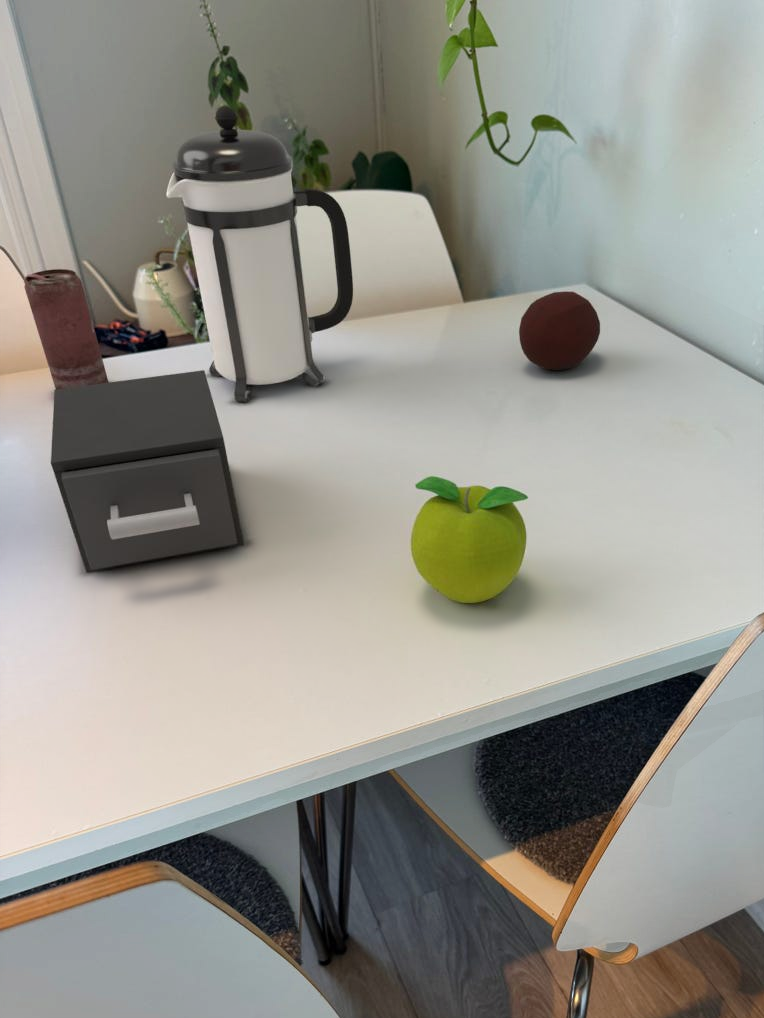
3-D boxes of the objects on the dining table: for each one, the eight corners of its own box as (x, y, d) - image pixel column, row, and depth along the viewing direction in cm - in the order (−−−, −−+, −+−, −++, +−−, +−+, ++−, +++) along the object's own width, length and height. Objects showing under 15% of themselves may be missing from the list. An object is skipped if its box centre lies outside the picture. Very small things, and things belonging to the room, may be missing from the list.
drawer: (244, 569, 80) (225, 477, 74) (91, 597, 77) (60, 503, 71) (219, 472, 94) (202, 389, 89) (89, 493, 91) (63, 408, 85)
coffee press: (300, 412, 108) (261, 121, 89) (182, 395, 112) (121, 113, 93) (362, 359, 120) (339, 95, 102) (254, 346, 125) (213, 90, 106)
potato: (502, 368, 118) (502, 295, 112) (567, 345, 124) (571, 274, 118) (550, 388, 113) (553, 312, 107) (616, 363, 119) (622, 290, 113)
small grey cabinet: (244, 545, 85) (223, 437, 78) (86, 573, 81) (50, 462, 75) (224, 469, 97) (204, 369, 90) (85, 491, 93) (54, 389, 86)
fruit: (434, 555, 83) (430, 454, 77) (535, 571, 81) (538, 469, 75) (398, 613, 76) (390, 508, 70) (507, 633, 74) (508, 525, 68)
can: (62, 384, 115) (27, 268, 106) (114, 382, 115) (84, 266, 107) (50, 404, 110) (12, 284, 101) (104, 402, 110) (71, 282, 102)
